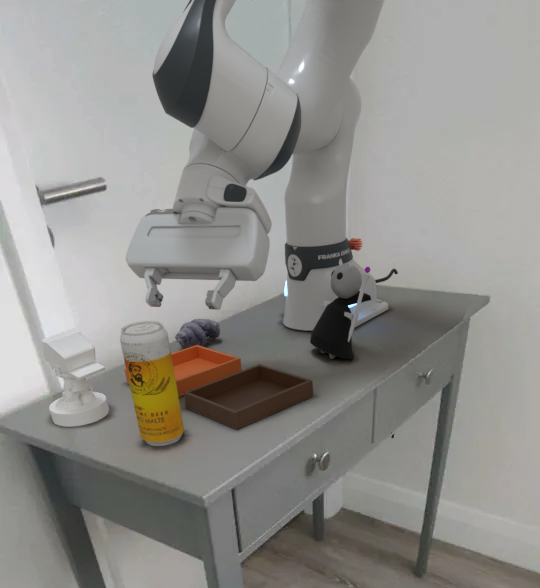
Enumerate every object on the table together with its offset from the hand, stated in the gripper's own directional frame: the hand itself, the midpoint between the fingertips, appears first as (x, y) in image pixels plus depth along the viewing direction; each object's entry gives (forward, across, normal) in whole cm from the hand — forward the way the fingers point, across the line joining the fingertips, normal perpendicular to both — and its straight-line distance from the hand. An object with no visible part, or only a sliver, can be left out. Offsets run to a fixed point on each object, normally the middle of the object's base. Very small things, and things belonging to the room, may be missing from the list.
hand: (181, 305), depth 86 cm
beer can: (+17, -1, +5) cm, 18 cm away
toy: (-10, +11, +32) cm, 36 cm away
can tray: (+2, -10, +20) cm, 23 cm away
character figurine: (+14, -18, +8) cm, 24 cm away
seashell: (-9, -17, +31) cm, 37 cm away
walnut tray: (+6, +5, +16) cm, 18 cm away
